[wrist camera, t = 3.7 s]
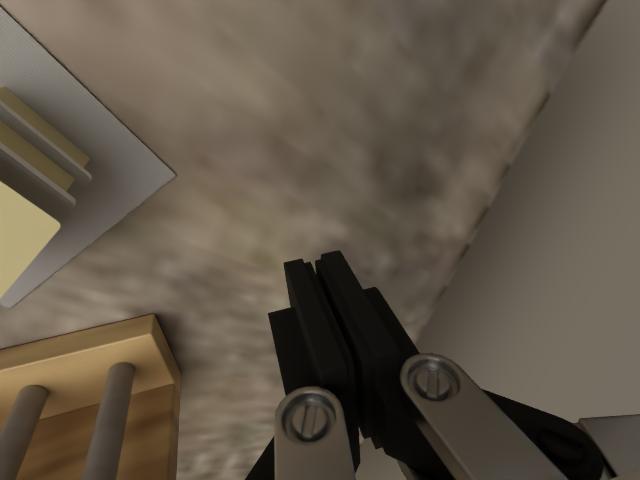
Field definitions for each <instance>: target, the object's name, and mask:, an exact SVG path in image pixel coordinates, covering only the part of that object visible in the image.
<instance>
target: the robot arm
mask: <svg viewBox="0 0 640 480" xmlns="http://www.w3.org/2000/svg"><path fill="white" fill-rule="evenodd" d="M315 267H316V273H315V271H314V269H313V266H312V264H311V262H307V263H304V261H303V259H298V260H293V261H289V262H284V270H285V276H286V282H287V288H288V294H289V300H290V306H291V308H287V309H283V310H279V311H275V312H271V313H268V316H269V321H270V325H271V330H272V335H273V339H274V344H275V348H276V353H277V358H278V362H279V367H280V371H281V376H282V380H283V385H284V390H285V394H286V397H285V398H284V399H283V400H282V401H281V402H280V404H279V406H278V408H277V410H276V413H275V420H274V437H273V438H272V440H271V441H270V443H269V444H268V446H267V447H266V449H265V450H264V452H263V453H262V455H261V456H260V458H259V459H258V461H257V462H256V464H255V465H254V467H253V468H252V470H251V471H250V473H249V474H248V476H247V477H246V479H245V480H356V477H355V473H356V471H357V468H358V466H359V464H360V446H359V428H360V431H361V433H362V436H363V438H364V439H366V438H369V437H371V439H372V442H373V444H374V447H375V449H378V448H381V447H383V449H384V451H385V454H387V455H389V456H391V457H393V458H395V459H397V461H398V464H399V466H400V468H401V470H402V472H403V474H404V475H405V477H406V479H407V480H640V414H636V415H622V416H607V417H593V418H580V419H579V421H578V423H571V422H568V421H566V420H565V419H562V418H560V417H557V416H555V415H552V414H549V413H546V412H544V411H541V410H538V409H535V408H533V407H530V406H527V405H525V404H521V403H519V402H516V401H514V400H511V399H508V398H505V397H503V396H500V395H497V394H494V393H491V392H489V391H486V390H483V389H481V388H480V387H479V386H478V385H477V384H476V383H475V382H474V381H473V380H472V379H471V378H470V377H469V376H468V375H467V374H466V372H465V371H464V370H462V368H461V367H460V366H459V365H457V364H456V363H455V362H454V361H452V360H451V359H449V358H447V357H444V356H443V355H439V354H434V353H421V354H420V353H419V352H418V350H417V349H416V347H415V345H414V344H413V342H412V341H411V339H410V338H409V336H408V335H407V333H406V331H405V330H404V328H403V327H402V325H401V324H400V322H399V321H398V319H397V318H396V316H395V314H394V313H393V311H392V310H391V308H390V307H389V305H388V304H387V302H386V301H385V299H384V297H383V296H382V294H381V293H380V291H379V290H378V289H377V288H376V287H372V288H368V289H364V290H363V288H362V287H361V285H360V283H359V282H358V280H357V278H356V277H355V275H354V273H353V272H352V270H351V268H350V266H349V265H348V263H347V261H346V260H345V258H344V256H343V255H342V253H341V251H339V250H338V251H334V252H329V253H325V254H321V259H320V260H316V261H315Z"/></svg>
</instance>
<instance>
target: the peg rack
mask: <svg viewBox="0 0 640 480" xmlns="http://www.w3.org/2000/svg"><path fill="white" fill-rule="evenodd" d="M180 391H181V373H180V371H179V368H178V366H177V364H176V362H175V359H174V357H173V355H172V353H171V350H170V348H169V346H168V344H167V341H166V339H165V337H164V335H163V332H162V330H161V328H160V326H159V324H158V321H157V319H156V317H155V315H154V314H151V315H147V316H142V317H138V318H134V319H130V320H125V321H121V322H117V323H113V324H108V325H104V326H100V327H96V328H91V329H87V330H83V331H79V332H74V333H70V334H66V335H62V336H57V337H53V338H49V339H45V340H40V341H36V342H32V343H28V344H23V345H19V346H15V347H11V348H6V349H2V350H0V480H176V471H177V451H178V431H179V411H180Z"/></svg>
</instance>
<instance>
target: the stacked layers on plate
mask: <svg viewBox="0 0 640 480" xmlns="http://www.w3.org/2000/svg"><path fill="white" fill-rule="evenodd" d="M175 176H176V175H175V174H174V173H173V172H172V171H171V170H170V169H169V168H168V167H167V166H166V165H165V164H164V163H163V162H162V161H161V160H160V159H159V158H157V157H156V156H155V155H154V154H153V153H152V152H151V151H150V150H149V149H148V148H147V147H146V146H145V145H144V144H143V143H142V142H141V141H140V140H139V139H138V138H137V137H136V136H135V135H133V134H132V133H131V132H130V131H129V130H128V129H127V128H126V127H125V126H124V125H123V124H122V123H121V122H120V121H119V120H118V119H117V118H116V117H115V116H114V115H113V114H112V113H111V112H109V111H108V110H107V109H106V108H105V107H104V106H103V105H102V104H101V103H100V102H99V101H98V100H97V99H96V98H95V97H94V96H93V95H92V94H91V93H90V92H89V91H88V90H87V89H85V88H84V87H83V86H82V85H81V84H80V83H79V82H78V81H77V80H76V79H75V78H74V77H73V76H72V75H71V74H70V73H69V72H68V71H67V70H66V69H65V68H64V67H63V66H61V65H60V64H59V63H58V62H57V61H56V60H55V59H54V58H53V57H52V56H51V55H50V54H49V53H48V52H47V51H46V50H45V49H44V48H43V47H42V46H41V45H40V44H39V43H37V42H36V41H35V40H34V39H33V38H32V37H31V36H30V35H29V34H28V33H27V32H26V31H25V30H24V29H23V28H22V27H21V26H20V25H19V24H18V23H17V22H16V21H15V20H13V19H12V18H11V17H10V16H9V15H8V14H7V13H6V12H5V11H4V10H3V9H2V8H1V7H0V305H2V306H4V307H6V308H8V309H10V308H11V307H12V306H14V305H15V304H16V303H17V302H19V301H20V300H21V299H22V298H24V297H25V296H26V295H27V294H29V293H30V292H31V291H32V290H34V289H35V288H36V287H37V286H39V285H40V284H41V283H42V282H44V281H45V280H46V279H47V278H49V277H50V276H51V275H52V274H54V273H55V272H56V271H57V270H59V269H60V268H61V267H62V266H64V265H65V264H66V263H67V262H69V261H70V260H71V259H72V258H74V257H75V256H76V255H77V254H79V253H80V252H81V251H82V250H84V249H85V248H86V247H87V246H89V245H90V244H91V243H92V242H94V241H95V240H96V239H97V238H99V237H100V236H101V235H102V234H104V233H105V232H106V231H107V230H109V229H110V228H111V227H112V226H114V225H115V224H116V223H117V222H119V221H120V220H121V219H122V218H124V217H125V216H126V215H127V214H129V213H130V212H131V211H132V210H134V209H135V208H136V207H137V206H139V205H140V204H141V203H142V202H144V201H145V200H146V199H147V198H149V197H150V196H151V195H152V194H154V193H155V192H156V191H157V190H159V189H160V188H161V187H162V186H164V185H165V184H166V183H167V182H169V181H170V180H171V179H172V178H174V177H175Z"/></svg>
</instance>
